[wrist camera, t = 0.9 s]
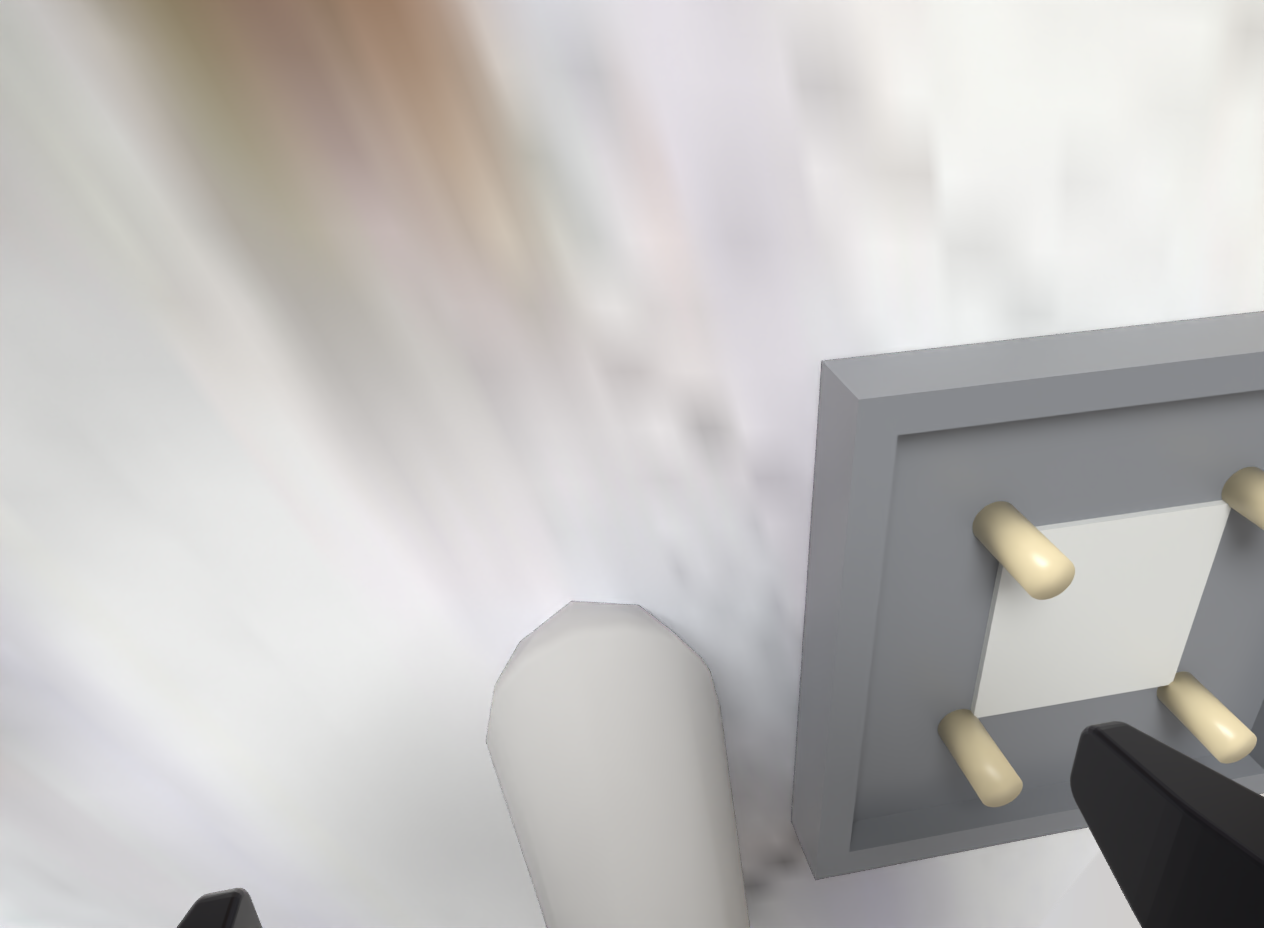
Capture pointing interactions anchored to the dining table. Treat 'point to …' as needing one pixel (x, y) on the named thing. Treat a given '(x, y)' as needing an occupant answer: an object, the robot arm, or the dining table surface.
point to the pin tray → (1026, 580)
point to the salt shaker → (618, 774)
